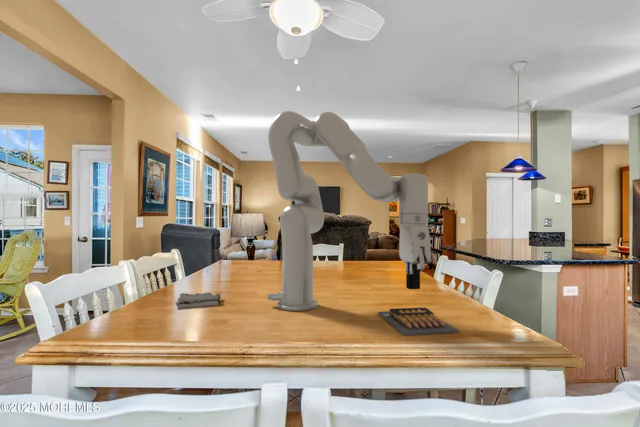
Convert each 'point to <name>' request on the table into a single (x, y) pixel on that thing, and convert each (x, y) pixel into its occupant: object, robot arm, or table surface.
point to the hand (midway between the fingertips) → (413, 288)
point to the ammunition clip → (416, 317)
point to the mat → (417, 331)
